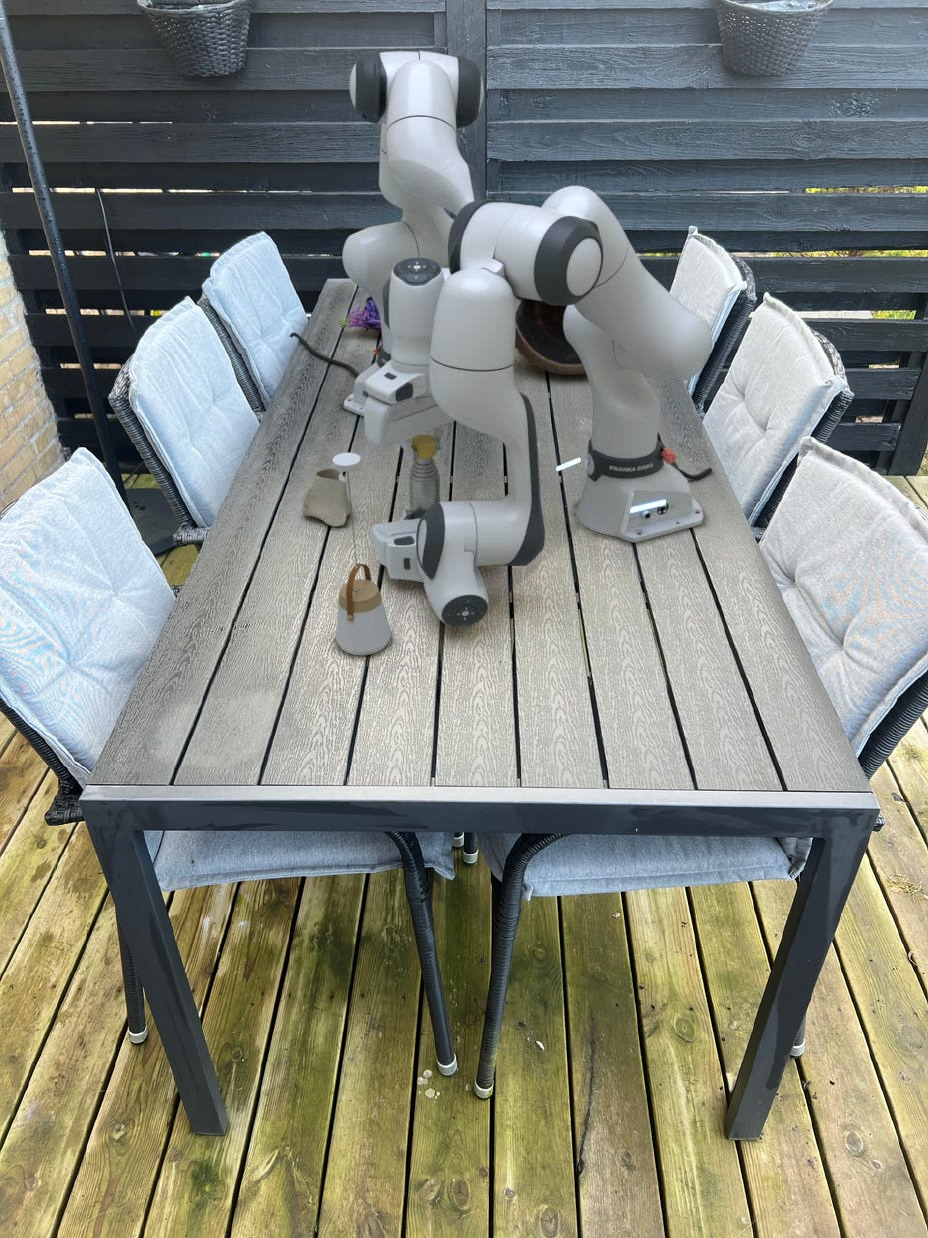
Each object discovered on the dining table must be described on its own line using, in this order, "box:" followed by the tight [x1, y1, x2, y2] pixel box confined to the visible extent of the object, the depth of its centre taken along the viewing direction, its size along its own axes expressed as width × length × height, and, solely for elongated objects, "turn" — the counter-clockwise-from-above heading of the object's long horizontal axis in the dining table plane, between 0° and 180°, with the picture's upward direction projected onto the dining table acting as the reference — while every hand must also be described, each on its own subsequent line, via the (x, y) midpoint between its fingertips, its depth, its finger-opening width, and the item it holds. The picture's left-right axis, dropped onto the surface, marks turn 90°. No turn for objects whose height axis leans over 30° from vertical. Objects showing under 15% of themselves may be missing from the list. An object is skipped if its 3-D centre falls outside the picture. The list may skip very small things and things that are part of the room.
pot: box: [515, 296, 586, 376], centre depth 220 cm, size 32×32×30 cm
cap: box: [410, 433, 437, 459], centre depth 150 cm, size 4×4×2 cm
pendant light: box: [332, 452, 392, 656], centre depth 130 cm, size 8×8×30 cm
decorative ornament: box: [338, 295, 382, 334], centre depth 237 cm, size 13×11×30 cm
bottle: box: [408, 457, 441, 519], centre depth 155 cm, size 5×5×19 cm
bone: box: [301, 468, 353, 528], centre depth 164 cm, size 9×8×10 cm
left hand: (423, 454), depth 150 cm, fingers closed on cap, 4 cm apart
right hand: (424, 511), depth 158 cm, fingers closed on bottle, 5 cm apart
